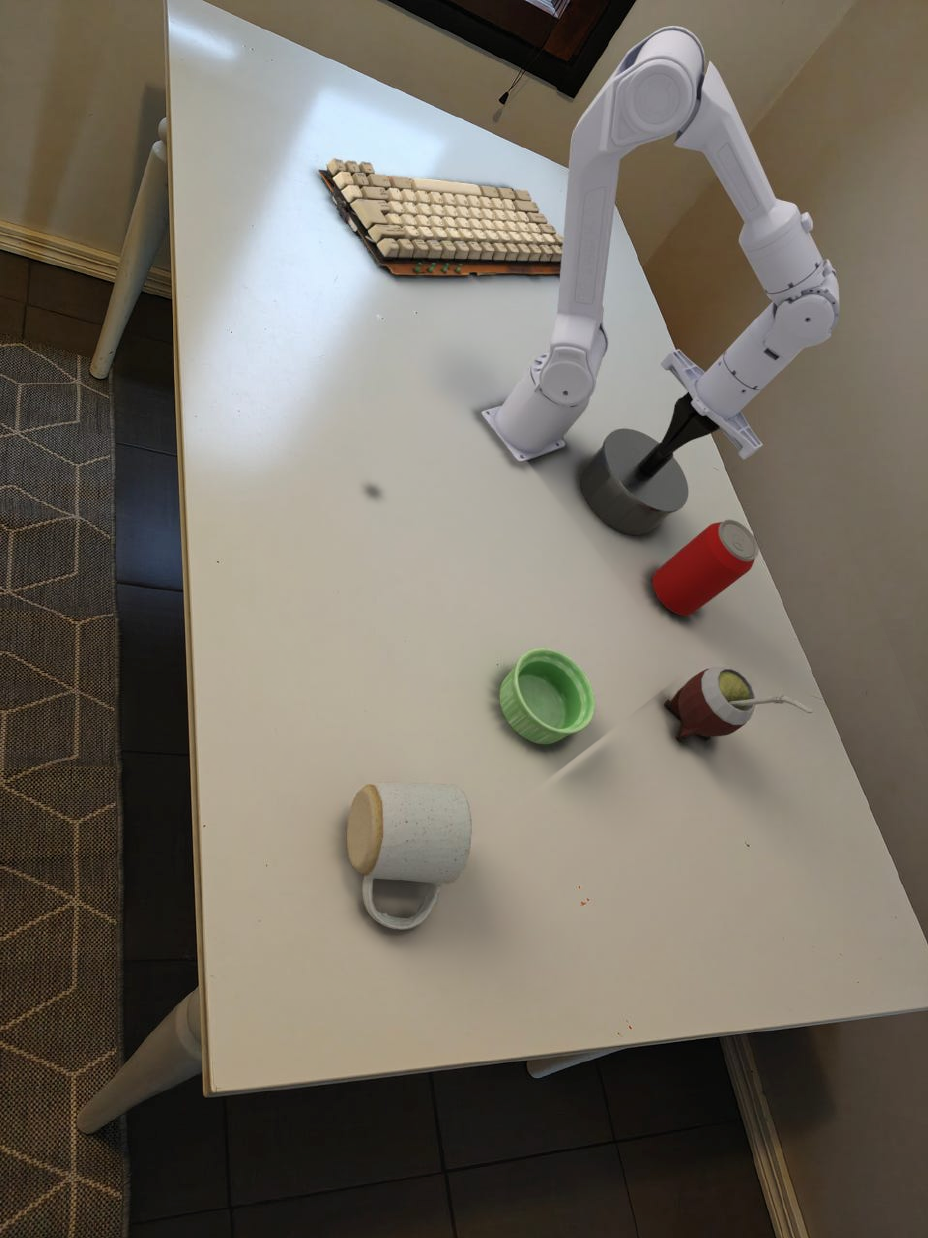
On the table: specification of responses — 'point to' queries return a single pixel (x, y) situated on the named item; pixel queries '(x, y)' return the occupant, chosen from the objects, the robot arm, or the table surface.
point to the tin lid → (645, 471)
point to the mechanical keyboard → (443, 224)
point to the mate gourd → (717, 703)
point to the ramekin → (547, 696)
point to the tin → (615, 500)
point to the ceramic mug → (409, 839)
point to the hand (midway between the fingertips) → (664, 451)
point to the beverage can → (705, 567)
